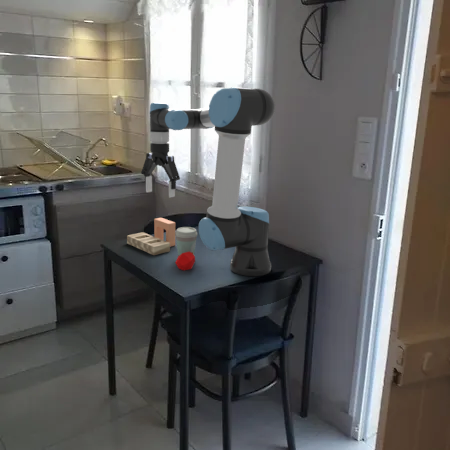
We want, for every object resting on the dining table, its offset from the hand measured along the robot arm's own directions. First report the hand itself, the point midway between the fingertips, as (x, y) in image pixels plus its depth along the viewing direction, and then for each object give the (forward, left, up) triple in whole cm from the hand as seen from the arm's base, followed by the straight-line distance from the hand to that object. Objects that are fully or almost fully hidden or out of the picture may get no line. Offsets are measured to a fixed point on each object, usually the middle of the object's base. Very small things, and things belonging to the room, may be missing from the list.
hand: (160, 194), depth 199 cm
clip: (-1, -2, -21) cm, 21 cm away
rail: (-1, +7, -21) cm, 22 cm away
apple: (-29, +10, -22) cm, 37 cm away
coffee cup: (-22, +4, -22) cm, 31 cm away
